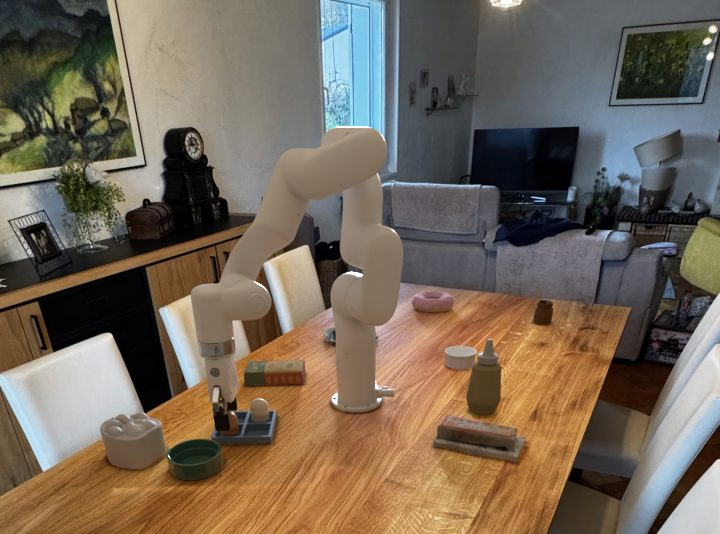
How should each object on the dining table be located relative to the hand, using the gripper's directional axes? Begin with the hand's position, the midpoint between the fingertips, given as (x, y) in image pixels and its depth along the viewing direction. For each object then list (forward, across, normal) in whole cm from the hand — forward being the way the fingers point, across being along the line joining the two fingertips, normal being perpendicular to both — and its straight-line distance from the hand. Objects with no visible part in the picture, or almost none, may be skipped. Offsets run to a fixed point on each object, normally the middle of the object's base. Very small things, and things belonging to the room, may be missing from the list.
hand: (226, 419), depth 128 cm
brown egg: (+4, 0, 0) cm, 4 cm away
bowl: (+5, -13, +5) cm, 14 cm away
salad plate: (+4, +65, -28) cm, 71 cm away
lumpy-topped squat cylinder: (+5, -7, +20) cm, 21 cm away
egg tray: (+5, +3, -3) cm, 7 cm away
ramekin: (+4, +40, -59) cm, 72 cm away
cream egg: (+4, +6, -6) cm, 10 cm away
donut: (+4, +96, -59) cm, 113 cm away
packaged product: (+4, -6, -55) cm, 56 cm away
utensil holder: (+4, +76, -93) cm, 121 cm away
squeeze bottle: (+4, +10, -59) cm, 60 cm away
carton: (+5, +33, -7) cm, 34 cm away
